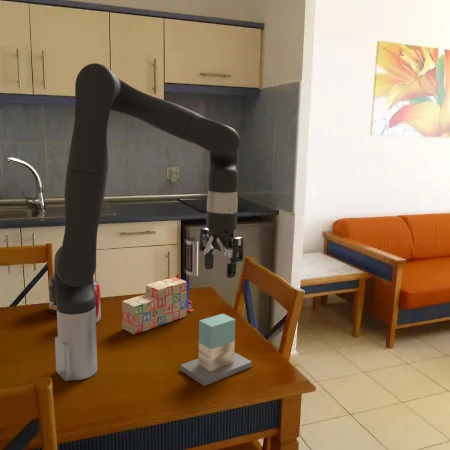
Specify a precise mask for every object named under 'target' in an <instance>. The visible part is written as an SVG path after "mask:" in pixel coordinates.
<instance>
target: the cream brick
mask: <svg viewBox="0 0 450 450" xmlns="http://www.w3.org/2000/svg"><path fill="white" fill-rule="evenodd" d="M235 342H236V340H235V341H233V342H230V343H228V344H225V345H222V346H219V347H216V348H214V349H209V348H208V347H206V346H204V345H202V344H201V343H199V342H198V358H199V361H198V364H199V365H201V366H203V367H204V368H206V369H207V370H209V371H213V370H216V369H218V368H221V367H223V366H226V365H228V364H231V363H233V362H234V352H235V348H236V347H235V346H236V344H235Z"/></svg>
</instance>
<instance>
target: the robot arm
mask: <svg viewBox="0 0 450 450" xmlns="http://www.w3.org/2000/svg"><path fill="white" fill-rule="evenodd" d="M74 83H75V85H74V89H75V90H74V95H75V96H74V122H73V123H74V124H73V131H72V136H71V141H70V146H69V151H68V152H69V153H68V154H69V155H68V160H67V165H66V172H65V173H66V174H65V182H64V216H65V222H64V223H65V226H64V235H63V240H62V243H61V246H60V247H59V248H58V249H57V251H56V253H55V255H54V259H53V260H54V261H53V264H54V265H53V266H54V267H53V268H54V270H53V271H54V273H53V274H55V293H56V305H57V314H56V324H57V336H55V337H54V349H55V352H54V353H55V371H56V373H57V374H58V376H60V378H61V379H62V380H64V381H65V382H69V381H81V380H86V379H89V378H90V377H92V376H94V375H95V374H96V373H97V371H98V348H97V347H98V346H97V323H96V299H95V291H94V282H93V280H94V274H95V273H96V271H97V246H98V245H97V243H98V229H99V224H100V220H101V215H102V210H103V204H104V198H105V195H106V188H107V182H108V181H107V180H108V173H109V148H108V147H109V146H108V137H107V136H108V126H109V125H108V123H109V119H110V113H111V111H114V112H118V113H121V114H124V115H128V116H131V117H132V118H135V119H138V120H141V121H142V122H145V123H147V124H149V125H151V126H153V127H154V128H156V129H159V130H161V131H163V132H164V133H167V134H168V135H171V136H174V137H176V138H178V139H180V140H183V141H185V142H189V143H192V144H194V145H196V146H199V147H201V148H203V149H205V150H206V151H208V152H209V159H210V160H209V162H210V167H209V174H208V193H207V198H206V227H203V228H200V234H199V248H198V250H199V251H201V252H203V255H204V269H205V270H212V269H214V259H215V258H214V255H215V254H214V253H215V252H216V250H218V251H220V252H221V253H222V255H223V256H224V257H225V258H226V261H227V263H226V278H229V279H232V278H233V279H234V278H235V276H236V274H237V263H239V262H240V263H241V262H244V237H242V236H238V237H237V236H235V234H234V231H236V229H237V228H238V227H237V226H238V223H237V222H238V203H239V201H238V200H239V199H238V180H239V178H238V177H239V176H238V175H239V174H238V169H237V165H238V164H237V163H238V154H239V153H238V150H239V149H240V146H241V138H240V135H239V133H238V132H237V130H235V129H234V128H233V127H230V126H229V125H226V124H223V123H221V122H218V121H215V120H213V119H209V118H208V117H207V118H206V116H205V117H204V116H203V115H201V114H199V113H198V112H195V111H193V110H191V109H189V108H186V107H184V106H183V105H179V104H177V103H173V102H171V101H168V100H166V99H163V98H159V97H156V96H153V95H150V94H148V93H146V92H143V91H142V90H139V89H137V88H135V87H134V86H132V85H129V84H128V83H126V82H125V81H124V80H122V79H121V78H119V77H118V76H117V75H116V74H115V72H113V71H112V70H111V69H110V68H108V67H107V66H106V65H104V64H100V63H97V62H93V63H89V64H87V65H84V66H83V67H82V68H81V69H80V70H79V72H78V73H77V76H76V78H75V82H74Z"/></svg>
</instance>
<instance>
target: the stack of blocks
mask: <svg viewBox="0 0 450 450" xmlns="http://www.w3.org/2000/svg"><path fill="white" fill-rule="evenodd" d="M121 305H122V311H121V313H122V315H121V317H122V320H121V322H122V324H121V325H122V329H123V330H125V331H127V332H128V333H130V334H132V335H134V336H135V335H137V334H140V333H142V332H146V331H148V330H151V329H155V328H157V327H159V326H162V325H165V324H167V323H171V322H175V321H177V320H180V319H182V318H185V317H187V311H186V310H187V308H186V306H187V282H186V281H184V280H181V279H178V278H176V276H174V277H172V278H164V279H162V280H159V281H155V282H152V283H149V284H146V285H145V293H144V294H141V295H137V296H134V297H131V298H128V299H125V300H122V304H121Z"/></svg>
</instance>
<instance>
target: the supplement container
mask: <svg viewBox="0 0 450 450" xmlns="http://www.w3.org/2000/svg"><path fill="white" fill-rule="evenodd" d="M47 287H48V288H47V289H48V303H49V306H48V308H49V311H50V312H51V313H53V314H54V315H57V305H56V293H55V273H52V274H51V275H50V276H49V285H48V286H47Z"/></svg>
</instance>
